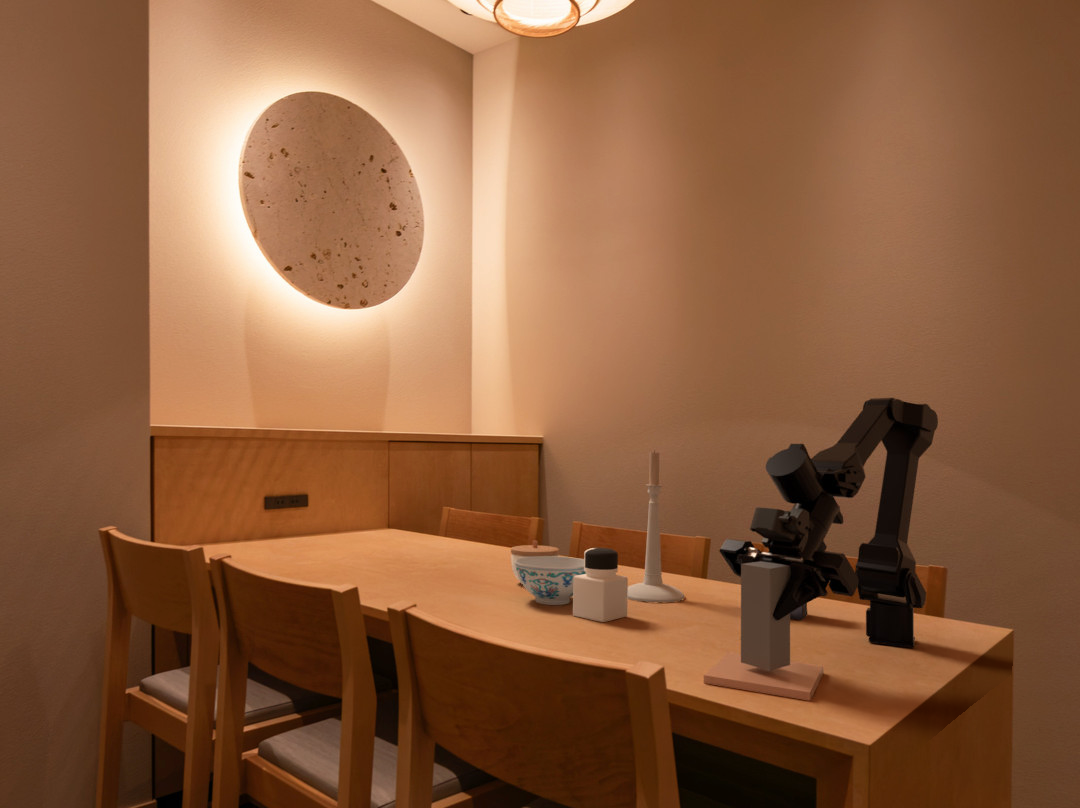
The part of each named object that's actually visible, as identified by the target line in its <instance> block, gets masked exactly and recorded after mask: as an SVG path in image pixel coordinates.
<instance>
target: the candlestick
mask: <svg viewBox="0 0 1080 808" xmlns="http://www.w3.org/2000/svg"><path fill="white" fill-rule="evenodd" d="M645 486H646V487H647V494H648V495H649V502H648V516H647V517H648V518H647V529H646V531H647V532H646V533H647V534H646V545H645V546H646V547H645V548H646V549H645V562H644V575H643V576H644V577H643V581H642V582H638V583H633V584H631V585H628V595H627V598H628V599H627V600H629V599H632V600H631V601H633V600H637V601H636V602H639V601H645V602H644V603H648V602H673V603H676V602H675V601H679V602H681V601H680V600H682V599H684V600H685V594H684V593H683V592H682V591H681V590H680V589H679V588H677V587H675V586H672V585H670V584H666V583H663V578H662V577H663V576H662V575H663V573H662V557H661V556H662V554H661V532H660V530H661V529H660V528H661V527H660V502H659V495H660V494H661V488H662V487H663V484H660V452H656V450H654V452H649V482H648V483H647V484H645ZM682 601H683V600H682Z"/></svg>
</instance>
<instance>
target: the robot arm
mask: <svg viewBox="0 0 1080 808" xmlns="http://www.w3.org/2000/svg"><path fill="white" fill-rule="evenodd" d="M938 417H939V416H938V414H937V412H936V411H935V410H934V409H932V408H931V407H930V405H929V404H927V403H913V402H907V401H903V400H901V399H900V398H899V399H898V398H895V397H878V398H877V397H876V398H870V399H867V400H865V401H864V403H863V405H862V410H861V412H860V413H859V414H858V415H857V417H855V419H854V420H853V422H852V423H851V424H850V425H849V427H848V428H847V430H846V431H845V432H844V433H843V434H842V435H841V437H840V438H839V439H838V441H837V442H836V443H835V444H834V445H833V446H830V447H828V448H826V449H822V450H820V451H819V452H818V453H816V454H815V455H814V456H813V457H810V455H809V453H808V449H807V447H806V445H805V444H804V443H790V445H789V446H788V447H787V448H785V449H782V450H780V451H778V452H777V453H775V454H774V455H772V456H771V457H769V458H768V460H767V461H766V463H765V470H766V472H767V475H768V476H769V477H770V479H771V480H772V483H773V484H774V486H775V487H776V489H777V491H778V492H779V495H780V496H781V497H782V499H783V500H784V501H785V502H786V503H788V504H793V506H792V507H791V509H790V510H783V509H779V508H772V507H771V508H770V507H760V506H759V507H755V509H754V512H753V517H752V520H751V523H750V527H749V530H750V531H751V532H754V533H755V532H756V534H758V535H759V536H761V537H763V538H762V540H761V544H762V545H763V546H764V548H767V549H768V551H767V552H765V551H762V550H761V549H758V548H756V547H755V546H754V544H753V543H752V541H751V540H745V539H736V538H726V539H725V540H724V542H723V544H722V545H721V547H720V549H719V550H718V551H719V554H721V556H722V557H723V559H724V560H725V562H726V563H727V565H728V566H729V567H730V569H731V571H732V572H733V574H735V575H736V576H738V577H740V578H741V564H745V563H752V562H760V561H763V562H769V563H776V564H782V565H789V566H790V579H789V581H788V583H787V585H786V587H785V589H784V591H783V593H782V595H781V597H780V599H779V601H778V603H777V605H776V607H775V610H774V613H773V617H774V618H775V620H780V619H782V618H783V617H785V616H786V615H788V614H789V613H791V612H793V611H794V610H796V609H797V608H799V607H801V606H802V605H804V604H806V603H807V604H808V603H810V602H811V601H814V600H815V599H817V598H819V597H826V596H827V595H828V594H829V592H828V591H827V587H829V589H830V590H831V592H832V594H834V595H841V596H846V597H853V596H855V593H856V591H857V593H858V597H859V600H862V601H869V607H867V608H866V610H865V636H866V637H868V642H869V643H872V644H873V643H874V644H880V645H881V644H882V645H889V646H896V647H905V648H912V649H913V648H915V644H916V643H915V642H916V641H915V639H916V638H915V633H914V632H915V630H914V627H915V625H914V624H915V623H914V622H915V621H914V616H915V615H914V609H923V608H924V606H925V604H926V601H927V599H926V598H927V597H926V596H927V592H926V590H925V588H924V587H925V586H923V584H922V582H921V580H920V578H919V577H918V575H917V573H916V569H917V568H916V565H917V562H916V560H915V557H914V555H913V553H912V550H911V548H910V547H909V545H908V537H909V531H910V523H911V517H912V511H913V503H914V495H915V489H916V482H917V481H916V480H917V475H918V467H919V460H920V457H922V456H923V455H924V453H925V452H926V451H927V450H928V449H929V448H930V447H931V446H932V444H933V440H934V437H935V436H934V435H935V432H936V431H937V429H938V425H939V420H938ZM880 443H882V444H883V446H884V449H885V450H886V456H885V463H884V468H883V469H884V470H883V476H882V477H883V478H882V483H881V490H880V496H879V503H878V504H879V505H878V510H877V516H876V521H875V529H874V535H873V537H872V538H871V539H870V540H869V541H868V542H862V543H861V544H860V546H859V547H858V557H857V561H856V564H855V570H854V568H853V567H852V565H851V563H850V561H849V560H848V558H847V556H846V554H845V553H843V552H835V551H828V550H827V544H826V543H825V538H826V537H827V535H828V533H829V530H830V529H831V527H832V524H836V525H843V524H844V517H843V516H844V515H843V514H842V512H841V506H840V505H839V504H838V502H837V501H836V499H835V498H844V499H852V498H854V497H855V496H856V495H857V494H858V493H859V491H860V489H861V488H862V486H863V483H864V481H865V479H866V473H865V468H864V466H865V464H866V462H867V461H868V459H869V458H870V457H871V456H872V454H873V453H874V451H875V450H876V448H877V447H878V446H879V444H880Z"/></svg>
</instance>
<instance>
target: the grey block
mask: <svg viewBox="0 0 1080 808" xmlns="http://www.w3.org/2000/svg"><path fill="white" fill-rule="evenodd" d="M789 579H790V566H789V565H782V564H776V563H769V562H763V561H760V562H752V563H745V564H741V577H740V654H741V663H745V664H748V665H751V666H755V667H758V668H762V669H765V670H769V671H771V670H774V669H778V668H781V667H785V666H788V665H790V661H791V619H790V613H789V614H788V615H786V616H785V617H783V618H782V619H780V620H775V618H774V617H773V613H774V610H775V607H776V605H777V603H778V601H779V599H780V597H781V595H782V593H783V591H784V589H785V587H786V585H787V583H788V581H789Z"/></svg>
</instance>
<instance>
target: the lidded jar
mask: <svg viewBox="0 0 1080 808" xmlns="http://www.w3.org/2000/svg"><path fill="white" fill-rule="evenodd" d="M510 553H511V557H510V560H511V561H510V563H511V569H512V572H513V575H514V576H515V577H516V579H517V580H518V581H519V582H520V583H521V581H520V579H519V577H518V574H517V570H516V565H515V561H516V560H517V559H520V558H525V557H536V556H559V555H560V549H559V548H558V547H556V546H555V547H554V546H550V545H539V543H538V540H532V544H531V545H530V544H529V545H517V546H512V547H511V548H510ZM559 557H560V556H559ZM520 585H522V583H521V584H520Z"/></svg>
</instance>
